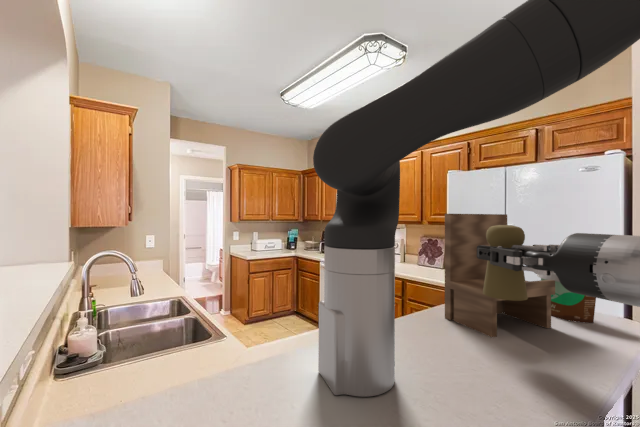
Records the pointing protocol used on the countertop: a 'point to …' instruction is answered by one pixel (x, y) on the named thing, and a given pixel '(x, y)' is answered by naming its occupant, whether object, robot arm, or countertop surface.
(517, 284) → the cork
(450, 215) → the wooden chair
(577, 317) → the food container
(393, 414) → the countertop surface
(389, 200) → the robot arm
